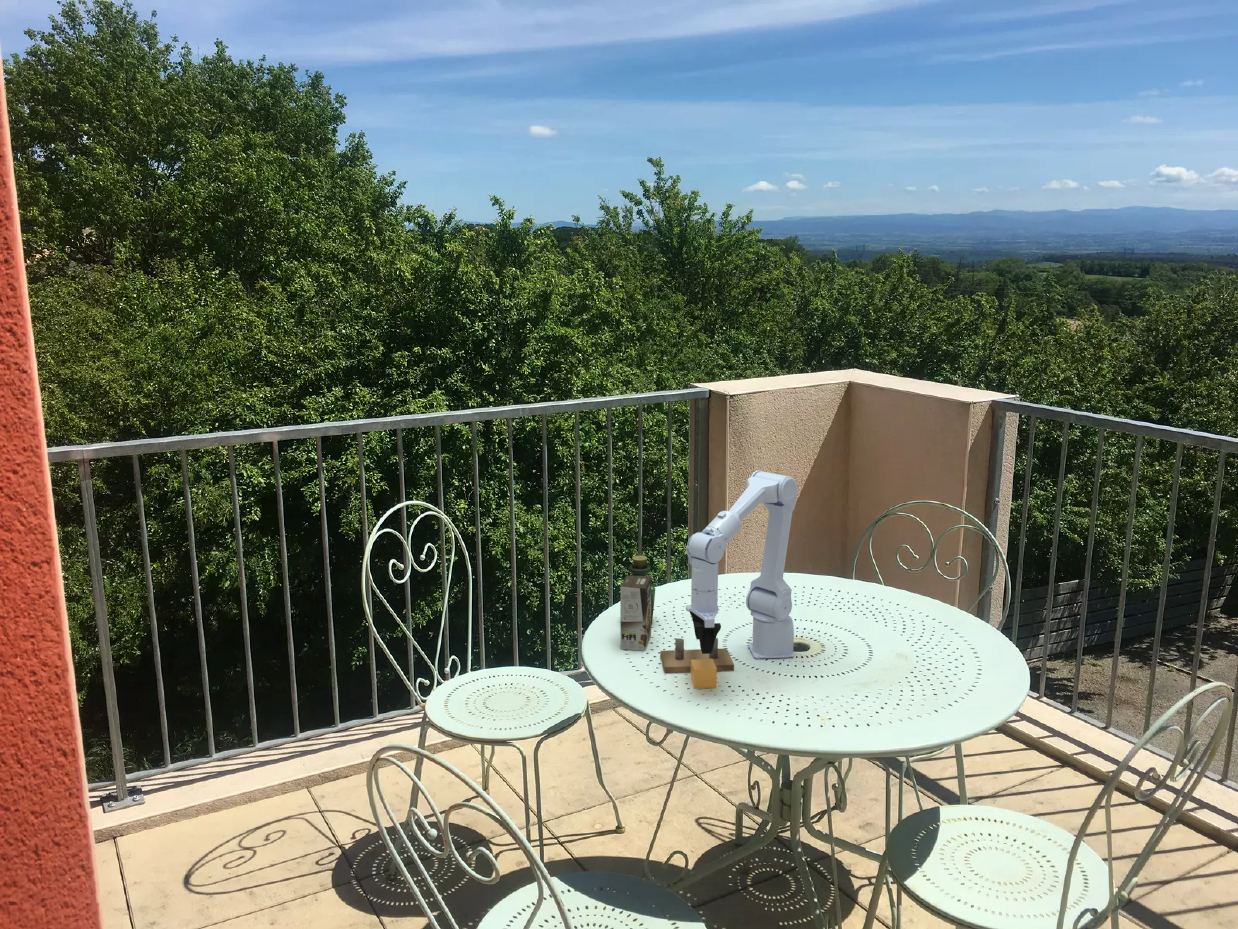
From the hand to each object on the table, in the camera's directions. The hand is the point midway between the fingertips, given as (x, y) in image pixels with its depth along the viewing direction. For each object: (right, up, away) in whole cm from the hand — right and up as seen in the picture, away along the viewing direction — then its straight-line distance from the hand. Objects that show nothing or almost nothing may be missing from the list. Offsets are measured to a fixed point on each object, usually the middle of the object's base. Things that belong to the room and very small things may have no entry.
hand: (703, 645), depth 195 cm
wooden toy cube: (0, -9, +2) cm, 9 cm away
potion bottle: (-13, -2, +35) cm, 38 cm away
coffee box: (-14, -4, +24) cm, 28 cm away
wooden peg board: (-1, -7, +12) cm, 13 cm away
